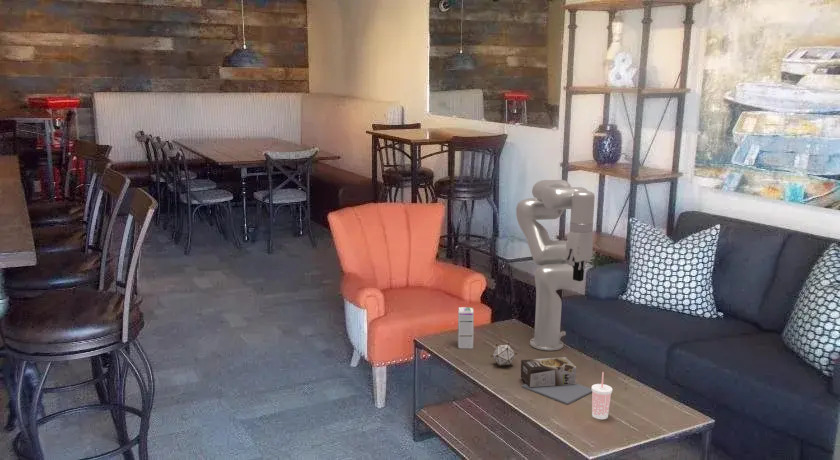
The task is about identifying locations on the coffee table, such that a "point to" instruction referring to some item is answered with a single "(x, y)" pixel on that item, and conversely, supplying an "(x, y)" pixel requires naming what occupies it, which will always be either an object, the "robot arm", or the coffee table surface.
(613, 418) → the coffee table surface
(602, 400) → the beverage cup
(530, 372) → the coffee box
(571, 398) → the mat
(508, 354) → the game die
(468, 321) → the syrup box
